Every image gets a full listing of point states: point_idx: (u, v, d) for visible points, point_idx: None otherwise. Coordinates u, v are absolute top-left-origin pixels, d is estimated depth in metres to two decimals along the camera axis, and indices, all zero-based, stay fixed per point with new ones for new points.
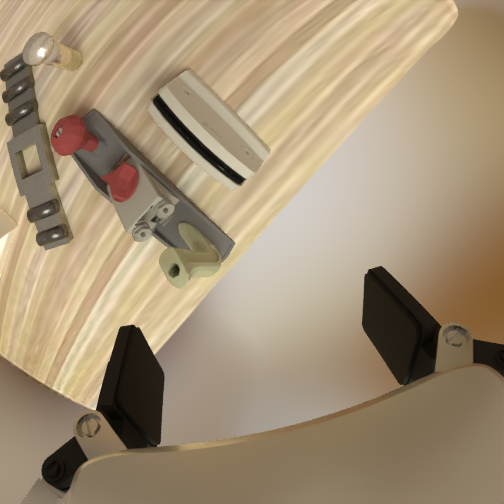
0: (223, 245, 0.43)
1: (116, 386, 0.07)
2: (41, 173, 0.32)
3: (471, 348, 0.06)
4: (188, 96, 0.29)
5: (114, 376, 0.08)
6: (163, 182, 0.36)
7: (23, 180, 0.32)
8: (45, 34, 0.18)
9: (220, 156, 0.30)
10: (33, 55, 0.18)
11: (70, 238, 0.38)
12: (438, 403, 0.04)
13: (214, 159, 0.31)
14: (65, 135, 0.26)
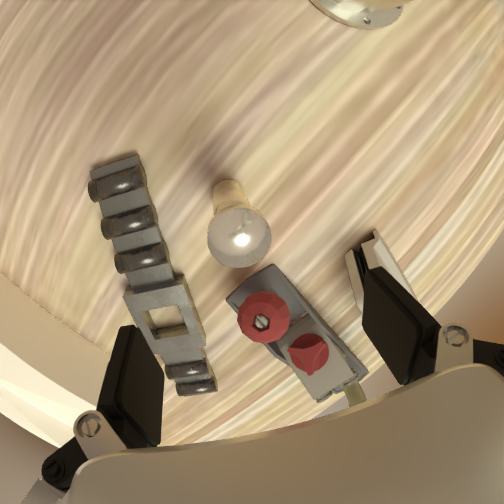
0: (360, 374, 0.44)
1: (116, 386, 0.07)
2: (188, 337, 0.32)
3: (471, 348, 0.06)
4: None
5: (114, 376, 0.08)
6: (340, 345, 0.36)
7: (157, 340, 0.32)
8: (259, 218, 0.18)
9: None
10: (235, 252, 0.19)
11: None
12: (438, 403, 0.04)
13: None
14: (274, 331, 0.27)
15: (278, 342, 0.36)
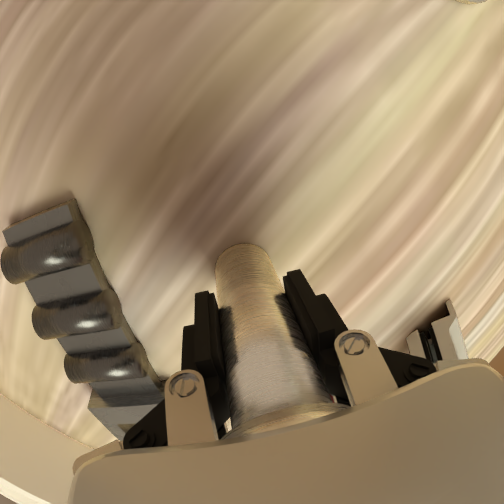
0: None
1: (209, 342, 0.09)
2: None
3: (376, 349, 0.07)
4: None
5: (204, 335, 0.09)
6: None
7: None
8: None
9: None
10: None
11: None
12: (438, 403, 0.04)
13: None
14: None
15: None
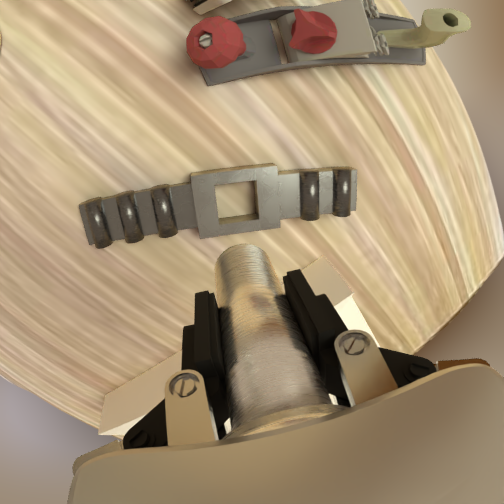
0: (410, 28, 0.25)
1: (209, 342, 0.09)
2: (260, 182, 0.30)
3: (376, 349, 0.07)
4: None
5: (204, 335, 0.09)
6: None
7: (260, 217, 0.32)
8: None
9: None
10: None
11: (350, 168, 0.32)
12: (438, 403, 0.04)
13: None
14: (219, 30, 0.18)
15: (293, 61, 0.26)
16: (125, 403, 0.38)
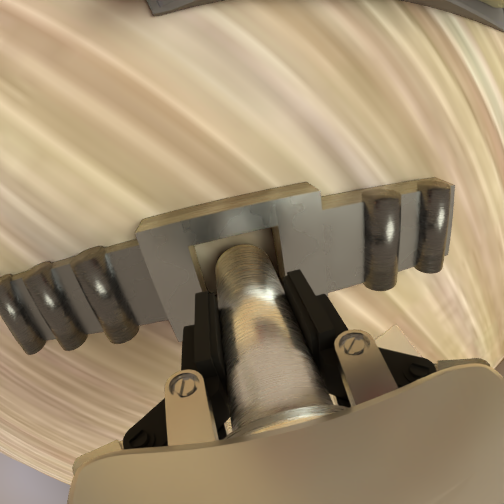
0: None
1: (209, 342, 0.09)
2: (287, 230, 0.14)
3: (377, 349, 0.07)
4: None
5: (204, 335, 0.09)
6: None
7: None
8: None
9: None
10: None
11: (441, 181, 0.15)
12: (438, 403, 0.04)
13: None
14: None
15: None
16: None
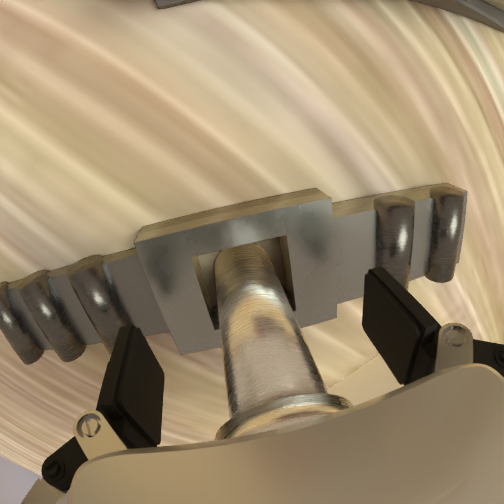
0: None
1: (115, 386, 0.07)
2: (296, 239, 0.13)
3: (471, 348, 0.06)
4: None
5: (114, 376, 0.08)
6: None
7: (298, 306, 0.15)
8: None
9: None
10: None
11: (453, 187, 0.14)
12: (438, 403, 0.04)
13: None
14: None
15: None
16: None
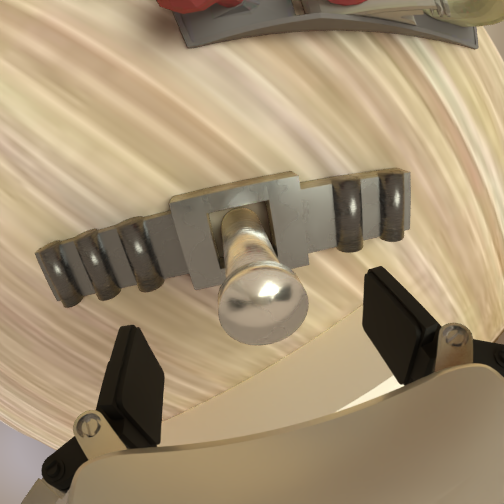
0: None
1: (116, 385, 0.07)
2: (275, 203, 0.20)
3: (471, 348, 0.06)
4: None
5: (114, 376, 0.08)
6: None
7: (279, 253, 0.22)
8: (293, 283, 0.12)
9: None
10: (257, 327, 0.13)
11: (400, 170, 0.21)
12: (438, 403, 0.04)
13: None
14: None
15: None
16: None
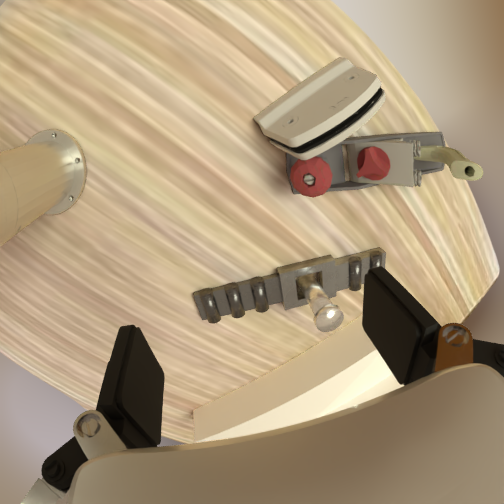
0: (438, 140, 0.40)
1: (116, 386, 0.07)
2: (324, 272, 0.45)
3: (471, 348, 0.06)
4: (296, 119, 0.32)
5: (114, 376, 0.08)
6: (388, 137, 0.36)
7: None
8: (339, 311, 0.37)
9: (365, 101, 0.28)
10: (327, 325, 0.38)
11: (381, 250, 0.46)
12: (438, 403, 0.04)
13: (363, 106, 0.30)
14: (320, 175, 0.32)
15: (354, 179, 0.40)
16: (219, 415, 0.53)
